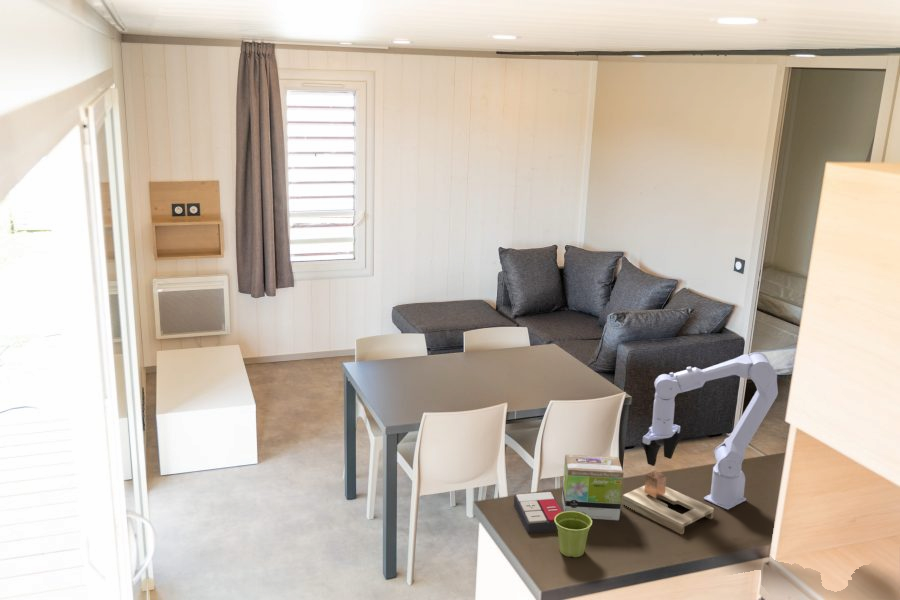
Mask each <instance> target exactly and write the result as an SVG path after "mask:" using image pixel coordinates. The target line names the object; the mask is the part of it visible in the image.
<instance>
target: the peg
mask: <svg viewBox="0 0 900 600" xmlns="http://www.w3.org/2000/svg"><path fill="white" fill-rule="evenodd" d="M644 485H645V491H644V492H645V493H647V494H649V495H651V496H650V497H652V498H655V499H657V500H659V501H661V502H663V501H662V499H661V498H659V496H661V495H663V494H665V488H666V487H667V486H666V485H667V475H666V474H663V473H661V472H659V471H658V470H657V471H656V470H653V471H651V472H648V473H646V474H645V479H644Z"/></svg>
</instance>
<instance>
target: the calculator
mask: <svg viewBox="0 0 900 600" xmlns="http://www.w3.org/2000/svg"><path fill="white" fill-rule="evenodd" d="M513 507H514V509H515V512H516V513H517V514H518V516H519V518H520V520H521V523H522V525H523V526H524V527H523V528H524V529H525V531H526V533H528V534H532V533H533V534H534V533H544V532H545V533H546V532H558V531H557V530H558V529H557V526H556V524H555V521H554V518H555V516H556V515H557V514H559V513H562V512H564V510H562V507H560V505H559V502H558V501H557V499H556V498H555V496H554V494H553V492H551V491H546V492H533V493H520V494H515V495H514V497H513Z"/></svg>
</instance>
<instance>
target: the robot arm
mask: <svg viewBox="0 0 900 600" xmlns="http://www.w3.org/2000/svg"><path fill="white" fill-rule="evenodd" d="M731 376H738V377H740V378H743V379H745V380H748V376H749V378H750V379H751V381H753V383H754V385H755V387H756V391H755V392H754V395H753V396H752V398H751V399H750V401H749V403H748V405H747V406H746V408H745V410H744V411H743V413H742V415H741V417H740V418H739V420H738V422H737V423H736V425H735V426H734V428H733V430H732V432H731V434H730V436H728V437H726V438H725V439H724V440H723V442H722V443H721V444H719V445H717V446H716V448H715V449H714V451H713V457H714V460H715V461H716V463H715V465H714V466H713V467H712V476H711V486H710V487H711V488H710V494H708V495H706V496H704V497H703V499H704V501H705V500H706V501H708V502H709V503H712V504H714V505H716V506H717V507H720V508H722V509H726V510H730V509H732V508H735V506H737V505H740V504H742V503H743V502H746V500H747V498H746V497H744V496H745V495H744V494H745V486H746V476H745V473H744V472H743V470H742V463H743V461H744V459H745V458H746V457H745V455H746V450H747V447H748V445H749V444H750V442H751V441H752V439H753V437H754V436H755V434H756V432H757V431H758V428H759V427H760V426H761V424H762V423H763V420H764V419H765V417H766V415H767V414H768V412H769V410H770V409H771V407H772V405H773V404H774V402H775V400H776V399H777V397H778V395H779V391H778V388H779V387H778V374H777V372H776V370H775V369H774V367H773V366H772V364H771V363H770V361H769V358H768V357H767V356H766V355H765V354H764V353H762V352H760V351H754V352H750V353H749V354H748V353H747V354H741V355H740V356H737V357H734V358H733V359H732V358H731V359H729V360H726V361H723V362H720V363H718V364H715V365H711V366H709V367H705V368H703V369H701V368H698V367H696V366H694V367H692V366H687V367H686V369H684V370H680V371H677V372H673V371H672V372H669V374H667V373H662V374H660V375H658V376H657V377H656V378H655V380H654V382H653V384H654V385H653V387H654V388H655V393H654V400H653V407H652V408H653V409H652V422H651V423H652V424H651V426H650V427H648V431H647V433H646V434H645V435H643V436H642V439H640V444H641V445H642V448H643V450H644V452H645V456H646V461H647V465H649V466H652V467H655V466H656V463H657V457H658V453H659V451H660V448H661V447H662V446H661V444H658V443H657V442H656V441H658V440H663V442H662V443H663V456H664V458H666V459H669V460H671V459H672V458H673V456H674V452H675V451H676V447H677V446H678V444H679V443H680V440H682V435H681V434H680V432H681V425H678V424H674V418H675V407H676V406H675V405H676V402H675V397H677V395H678V394H681V393H685V392H688V391H692V390H696V389H700V388H702V387H704V385H705V383H706V382H709V381H713V380H718V379H723V378H726V377H731Z"/></svg>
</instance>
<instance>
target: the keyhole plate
mask: <svg viewBox="0 0 900 600" xmlns="http://www.w3.org/2000/svg"><path fill="white" fill-rule="evenodd" d="M644 491H645V484H644V485H642V486H640V487H637V488H635V489H633V490H631V491H629V492H626V493H624V494H622V497H621V506H624V505H625V506H624V507H626V506H627V507H626V508H628V507H629V508H628V509H630V508H631V509H630V510H632V509H633V510H632V511H634V510H635V511H634V512H636V513H638V514H640V515H642V516H644V517H646V518H648V519H650V520H652V521H654V522H656V523H658V524H660V525H662V526H664V527H666V528H668V529H670V530H672V531H673V532H676V533H677V534H680V535H683V534H684V533H685V527H687V526H688V525H690V524H692V523H694V522H696V521H698V520H700V519H702V518H704V517H705V518H707V519H709V520H712V519H713V518H714V510H715V508H714V507H711V506H710V505H707V504H705V503H704V502H702V501H699V500H697V499H695V498H692V497H690V496H688V495H686V494H683V493H681V492H679V491H677V490H674V489H672V488H670V487H668V486H666V488H665V494H663V495H661V496H659V497H658V499H660V500H661V501H662V500H663V501H662V502H661V501H659V500H657V499H655V498H652V497H651V495H649V494H647V493H645V492H644ZM664 501H665V502H667V503H670V504H672V505H674V506H675V505H679V506H682V507H684V508H686V509H688V511H686V512H684V513H680V512H677V511H676V510H674V509H671V507H670V508H669V507H668V506H669V505H668V504H667V503H665V502H664Z"/></svg>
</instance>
